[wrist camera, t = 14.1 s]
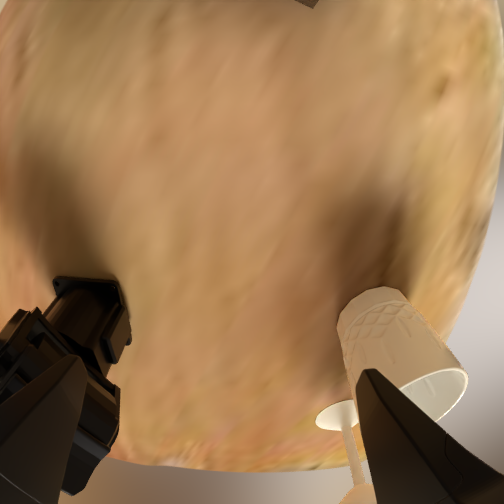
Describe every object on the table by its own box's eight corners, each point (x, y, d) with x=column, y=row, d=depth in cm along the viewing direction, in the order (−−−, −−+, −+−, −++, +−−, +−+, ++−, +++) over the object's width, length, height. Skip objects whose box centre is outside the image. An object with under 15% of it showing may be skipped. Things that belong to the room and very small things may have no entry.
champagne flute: (344, 393, 29) (391, 600, 7) (380, 405, 30) (430, 579, 9) (303, 423, 31) (327, 609, 9) (341, 433, 33) (373, 594, 11)
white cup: (339, 278, 22) (386, 379, 13) (423, 279, 22) (487, 358, 13) (321, 353, 26) (345, 449, 17) (397, 348, 26) (436, 429, 17)
